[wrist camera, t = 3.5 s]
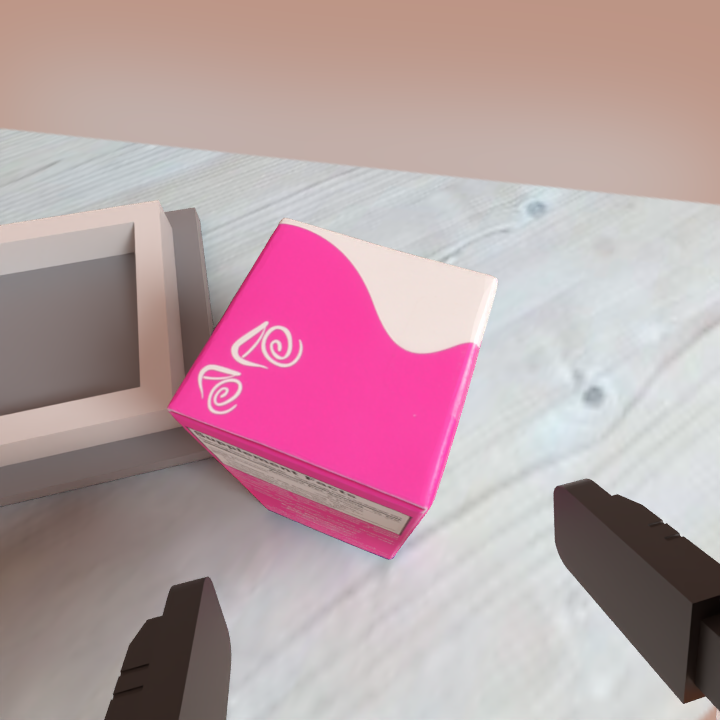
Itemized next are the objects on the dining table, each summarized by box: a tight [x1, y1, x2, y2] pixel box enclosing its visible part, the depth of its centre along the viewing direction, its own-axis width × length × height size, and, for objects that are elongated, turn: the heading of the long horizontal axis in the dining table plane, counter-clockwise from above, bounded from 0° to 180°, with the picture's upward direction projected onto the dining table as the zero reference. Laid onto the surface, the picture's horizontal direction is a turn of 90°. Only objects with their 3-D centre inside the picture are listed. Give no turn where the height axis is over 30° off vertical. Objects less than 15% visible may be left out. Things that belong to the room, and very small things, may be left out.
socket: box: [0, 200, 214, 507], centre depth 21 cm, size 14×14×3 cm
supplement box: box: [167, 218, 498, 559], centre depth 15 cm, size 6×6×12 cm
